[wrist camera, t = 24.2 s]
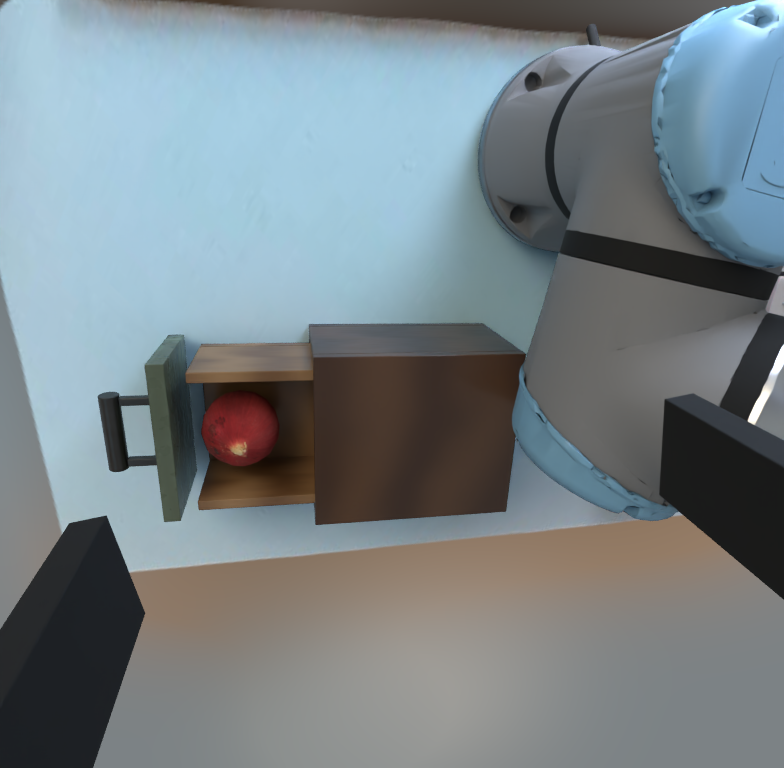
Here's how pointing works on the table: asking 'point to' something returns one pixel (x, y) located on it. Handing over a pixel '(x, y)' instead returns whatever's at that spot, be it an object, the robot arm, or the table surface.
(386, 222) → the table surface
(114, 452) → the drawer
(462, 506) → the cabinet
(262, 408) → the onion
